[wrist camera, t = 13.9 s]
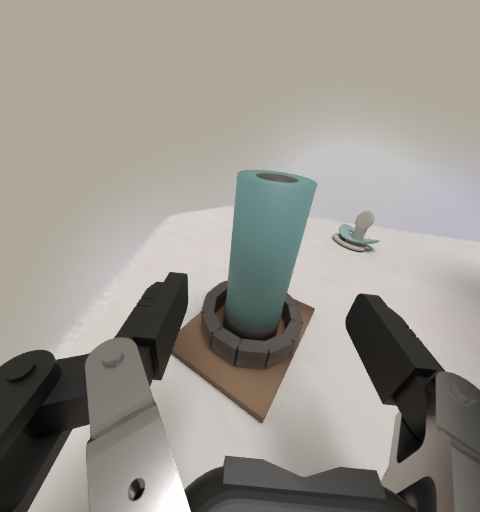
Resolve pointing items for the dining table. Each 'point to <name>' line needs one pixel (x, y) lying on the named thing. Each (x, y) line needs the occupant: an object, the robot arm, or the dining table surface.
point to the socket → (241, 352)
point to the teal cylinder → (264, 249)
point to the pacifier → (356, 232)
